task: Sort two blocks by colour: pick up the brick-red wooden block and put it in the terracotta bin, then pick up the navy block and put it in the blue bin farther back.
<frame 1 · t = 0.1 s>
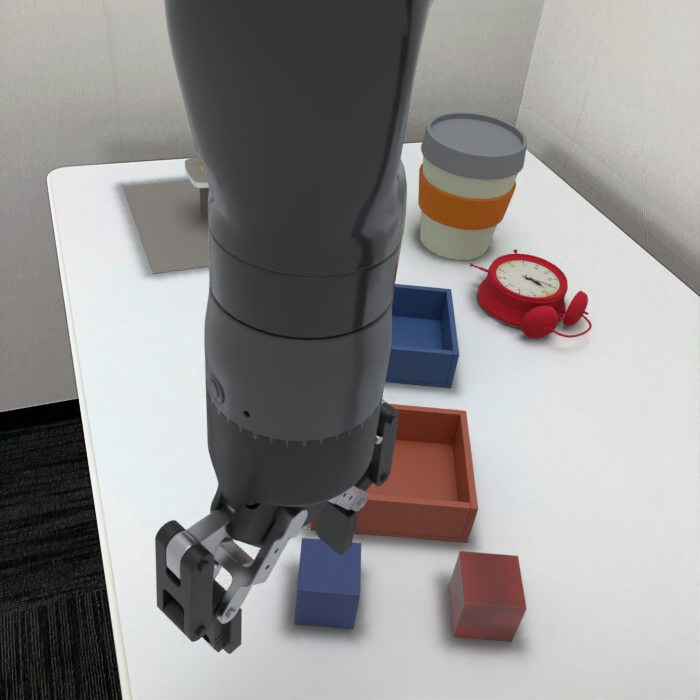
hand: (281, 587, 43), 15 cm above the table, tool pointing down, fingers open, 8 cm apart
blue bin: (386, 347, 83), on the table
red block: (479, 611, 60), on the table
reusable coffee cup: (453, 242, 101), on the table
navy block: (325, 599, 59), on the table
terracotta bin: (388, 484, 69), on the table
alarm clock: (529, 312, 91), on the table
architectural model: (234, 216, 101), on the table
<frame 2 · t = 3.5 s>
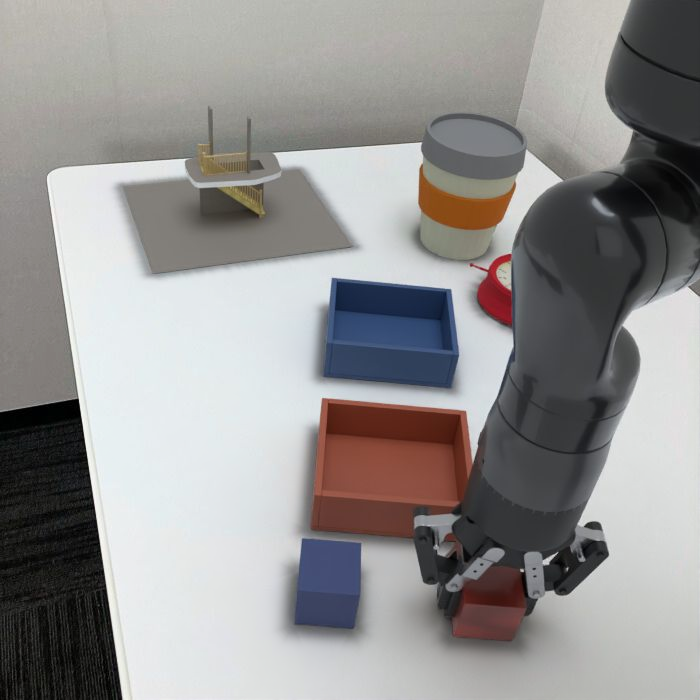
hand: (481, 608, 60), 1 cm above the table, tool pointing down, fingers closed on red block, 4 cm apart
red block: (479, 612, 60), on the table, touching gripper
everything else where it was.
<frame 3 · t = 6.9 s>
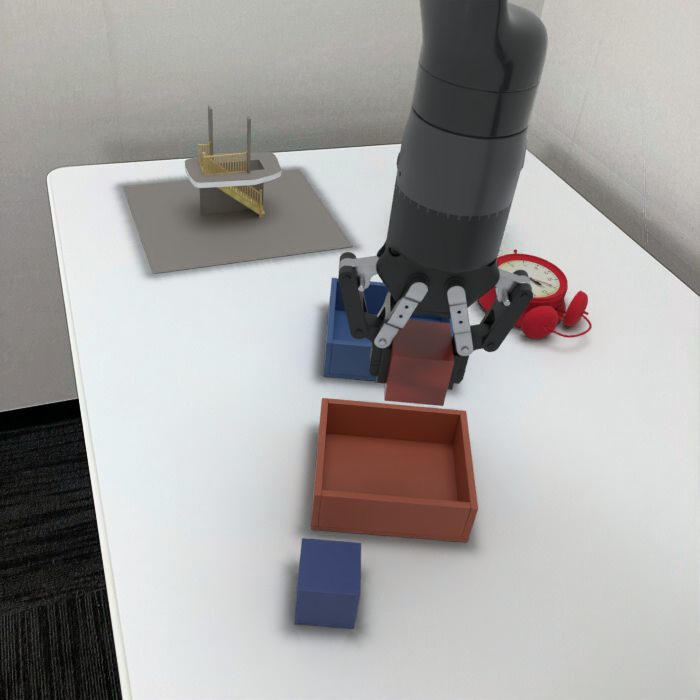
hand: (414, 378, 60), 13 cm above the table, tool pointing down, fingers closed on red block, 4 cm apart
red block: (412, 383, 60), point 13 cm above the table, touching gripper
everything else where it was.
when the fingers open (1 cm above the table, at t = 10.2 s): red block stays where it is, resting on terracotta bin.
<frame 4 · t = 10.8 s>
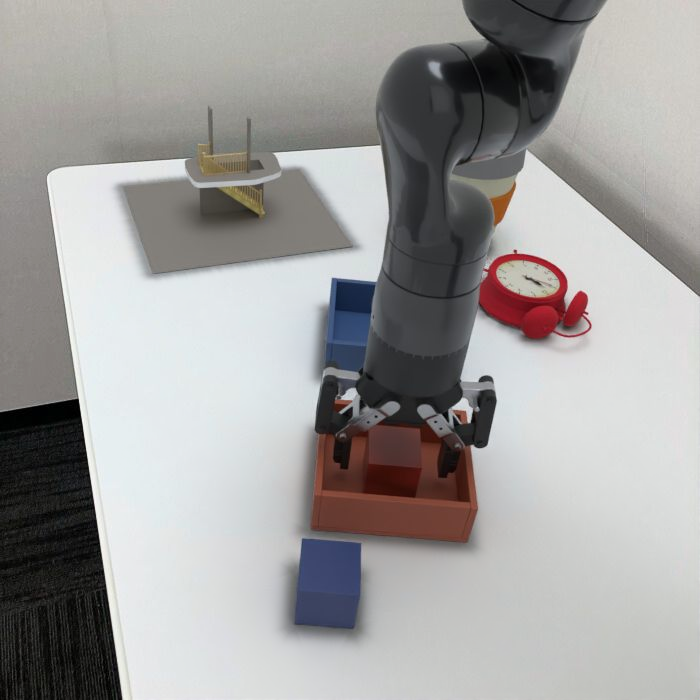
hand: (393, 466, 67), 2 cm above the table, tool pointing down, fingers open, 8 cm apart
red block: (388, 479, 69), resting on terracotta bin
everything else where it was.
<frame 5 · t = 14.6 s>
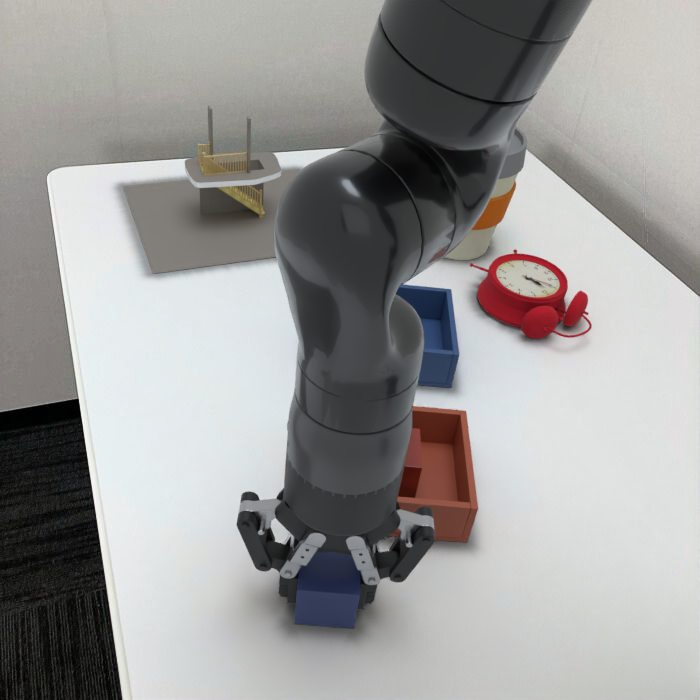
hand: (326, 595, 59), 1 cm above the table, tool pointing down, fingers closed on navy block, 4 cm apart
navy block: (325, 599, 59), on the table, touching gripper
everything else where it was.
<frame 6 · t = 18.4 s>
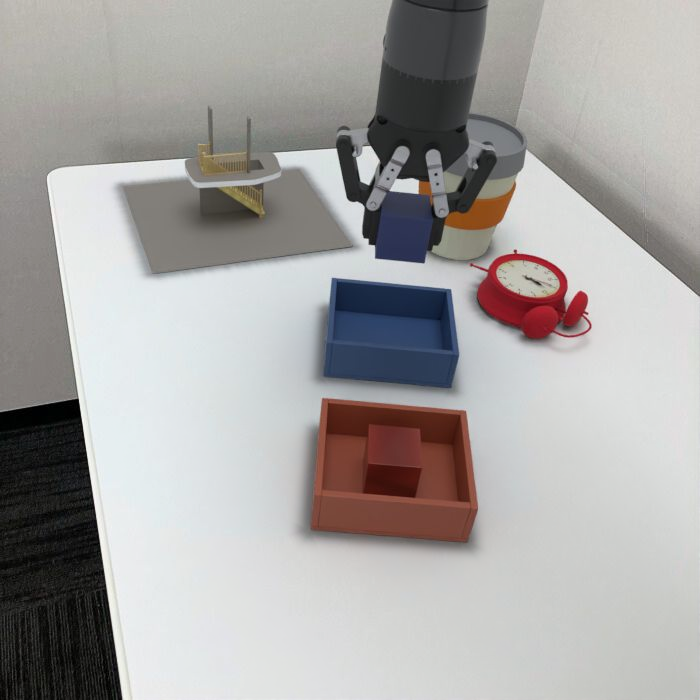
hand: (400, 242, 71), 15 cm above the table, tool pointing down, fingers closed on navy block, 4 cm apart
navy block: (399, 247, 71), point 15 cm above the table, touching gripper
everything else where it was.
when the fingers open (1 cm above the table, at t = 22.3 s): navy block stays where it is, resting on blue bin.
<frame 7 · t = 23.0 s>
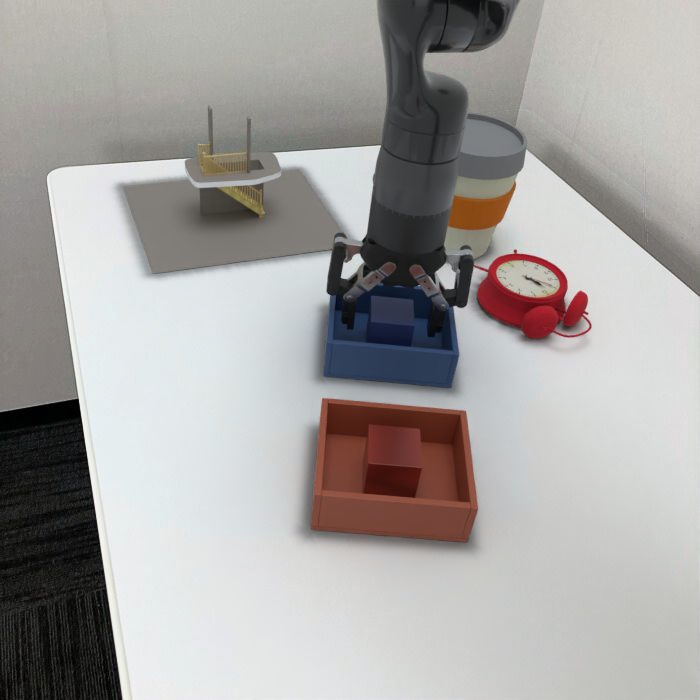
hand: (390, 328, 82), 3 cm above the table, tool pointing down, fingers open, 8 cm apart
navy block: (387, 343, 83), resting on blue bin
everything else where it was.
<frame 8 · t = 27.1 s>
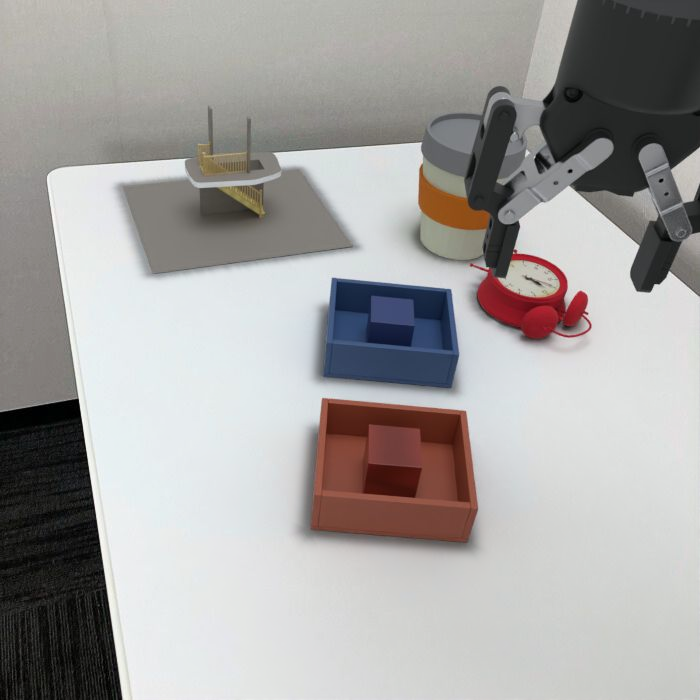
hand: (568, 277, 46), 28 cm above the table, tool pointing down, fingers open, 8 cm apart
nothing on the table moved.
at the end: red block inside the target area in the terracotta bin (0.1 cm from its centre), point 0.5 cm above the terracotta bin's base; navy block inside the target area in the blue bin (0.1 cm from its centre), point 0.5 cm above the blue bin's base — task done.
